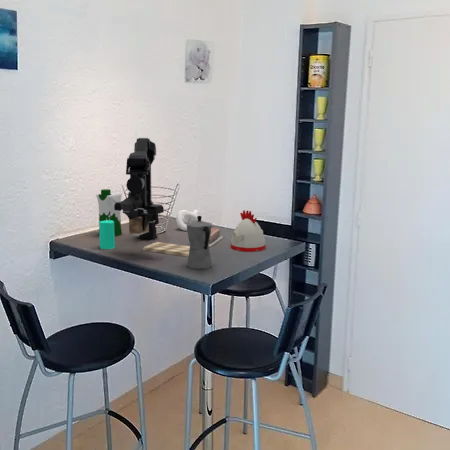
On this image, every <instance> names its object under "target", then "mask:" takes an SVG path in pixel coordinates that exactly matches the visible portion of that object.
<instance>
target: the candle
mask: <svg viewBox="0 0 450 450" xmlns="http://www.w3.org/2000/svg"><path fill="white" fill-rule="evenodd" d="M98 236H99V248H100V249H101V250H112V249H115V248H116V241H115V240H116V239H115V237H116V236H115V233H114V221H112V220H107V218H106V220H104V221H100V222H99V221H98Z"/></svg>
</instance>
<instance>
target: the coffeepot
mask: <svg viewBox="0 0 450 450" xmlns="http://www.w3.org/2000/svg"><path fill="white" fill-rule="evenodd" d="M197 218H198V221H193V222H190V223H187V231H186V232H187V236H188V237H187V238H188V242H189V243H190V245H189V246H190V250H189V256H188V258H187V263H186V266H187V268H190V269H193V270H206V269H209V268H211V267H212V264H213V263H212V258H211V251H210V247H209V242H210V235H211V228H213V227H212V226H213V223H212V222H207V221H204V220H202V215H198V216H197Z"/></svg>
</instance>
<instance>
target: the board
mask: <svg viewBox="0 0 450 450" xmlns="http://www.w3.org/2000/svg"><path fill="white" fill-rule="evenodd" d="M189 250H190V245H184V244H183V245H182V244H174V243H168V242H161V241H160V242H159V241H156V242H153V243H151V244H148V245H145V246H144V247H143V251H147V252H153V253H160V254H167V255H173V256H174V255H175V256H180V257H181V256H182V257H188V256H189Z"/></svg>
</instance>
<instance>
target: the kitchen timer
mask: <svg viewBox="0 0 450 450" xmlns="http://www.w3.org/2000/svg"><path fill="white" fill-rule="evenodd" d="M239 215H240V218H241V221H240V222H239V223H238V224H237V226H236V227H235V228H234V231H233V232H232V236H231V239H230V249H232V250H234V251H238V252H247V253H253V252H261V251H265V249H266V239H265V235H264V230H263V229H262V228H261V226H260V225H259V223H258V222H257V217H255V214H252V211H251V210H245V209H244V210H243V211H242V212H240V213H239ZM254 217H255V218H254Z"/></svg>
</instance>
